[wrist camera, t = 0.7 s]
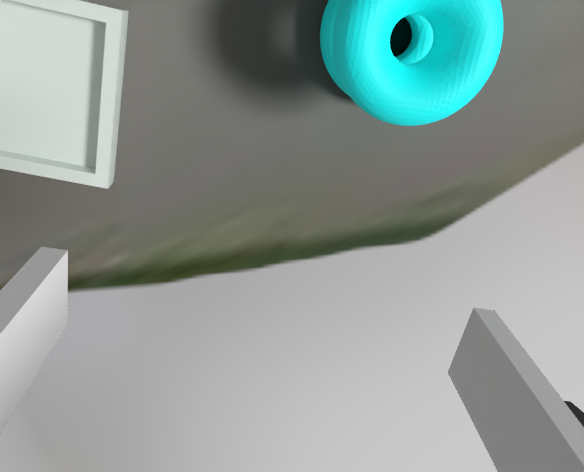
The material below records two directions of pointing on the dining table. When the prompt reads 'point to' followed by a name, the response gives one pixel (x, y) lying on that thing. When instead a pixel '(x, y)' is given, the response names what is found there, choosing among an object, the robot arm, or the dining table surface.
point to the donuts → (411, 55)
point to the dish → (61, 88)
